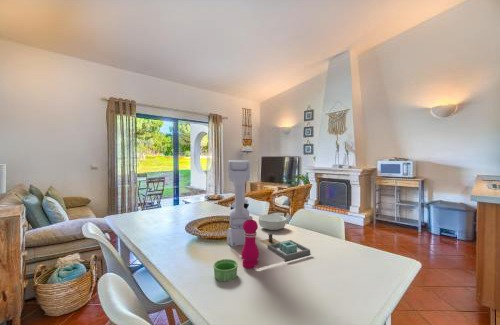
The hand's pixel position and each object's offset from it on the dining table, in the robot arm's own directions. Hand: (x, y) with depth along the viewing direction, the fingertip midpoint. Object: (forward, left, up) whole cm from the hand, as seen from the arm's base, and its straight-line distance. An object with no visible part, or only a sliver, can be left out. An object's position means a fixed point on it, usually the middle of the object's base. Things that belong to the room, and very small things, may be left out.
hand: (239, 217), depth 130 cm
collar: (+8, -33, -9) cm, 35 cm away
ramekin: (-25, -38, -10) cm, 46 cm away
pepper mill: (-13, -35, -10) cm, 38 cm away
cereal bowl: (+21, -1, -10) cm, 24 cm away
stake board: (+7, -20, -10) cm, 23 cm away
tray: (+8, -33, -10) cm, 35 cm away
